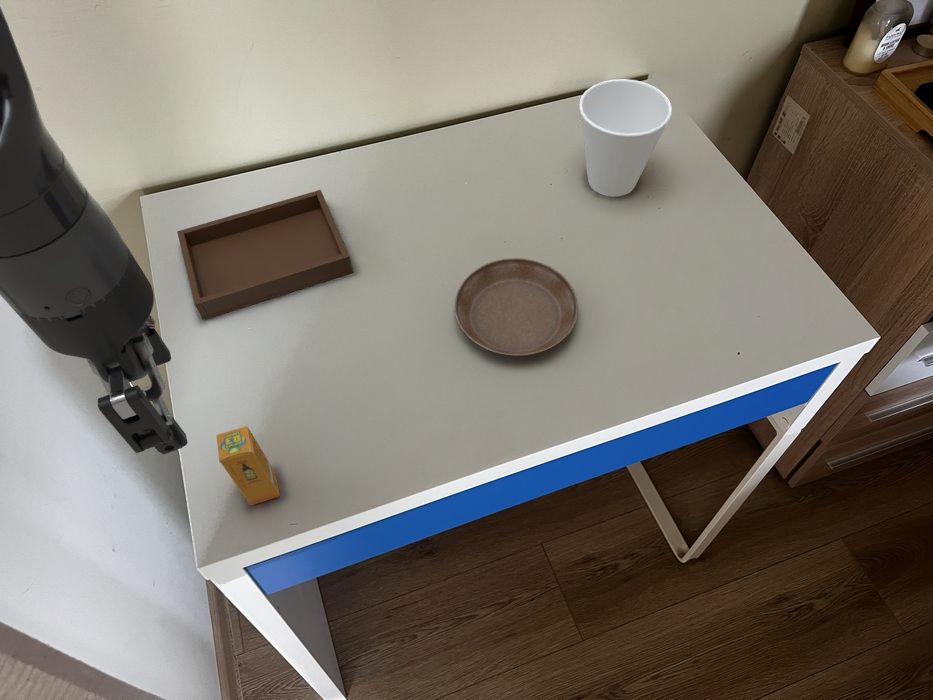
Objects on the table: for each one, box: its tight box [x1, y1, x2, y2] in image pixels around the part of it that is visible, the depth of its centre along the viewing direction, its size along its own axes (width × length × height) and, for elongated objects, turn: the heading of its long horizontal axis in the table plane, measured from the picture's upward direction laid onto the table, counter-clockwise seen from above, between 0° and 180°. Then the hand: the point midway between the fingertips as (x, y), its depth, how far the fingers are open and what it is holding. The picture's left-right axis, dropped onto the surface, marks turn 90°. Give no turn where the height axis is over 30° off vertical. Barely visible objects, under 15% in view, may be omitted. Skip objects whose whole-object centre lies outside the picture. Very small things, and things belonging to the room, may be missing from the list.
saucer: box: [454, 257, 579, 357], centre depth 85 cm, size 15×15×3 cm
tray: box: [176, 189, 354, 321], centre depth 92 cm, size 20×14×3 cm
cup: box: [578, 78, 673, 198], centre depth 95 cm, size 12×12×12 cm
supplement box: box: [216, 425, 281, 506], centre depth 70 cm, size 3×3×10 cm
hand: (166, 402), depth 57 cm, fingers open, 8 cm apart
